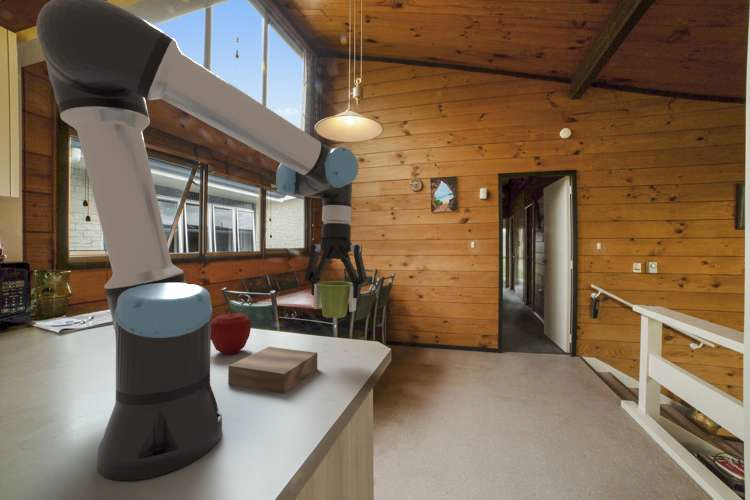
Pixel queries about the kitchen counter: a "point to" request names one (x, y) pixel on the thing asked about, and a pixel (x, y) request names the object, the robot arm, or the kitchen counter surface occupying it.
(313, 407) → the kitchen counter surface
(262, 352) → the walnut plinth
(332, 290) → the plant pot
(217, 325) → the apple
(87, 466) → the kitchen counter surface
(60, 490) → the kitchen counter surface
